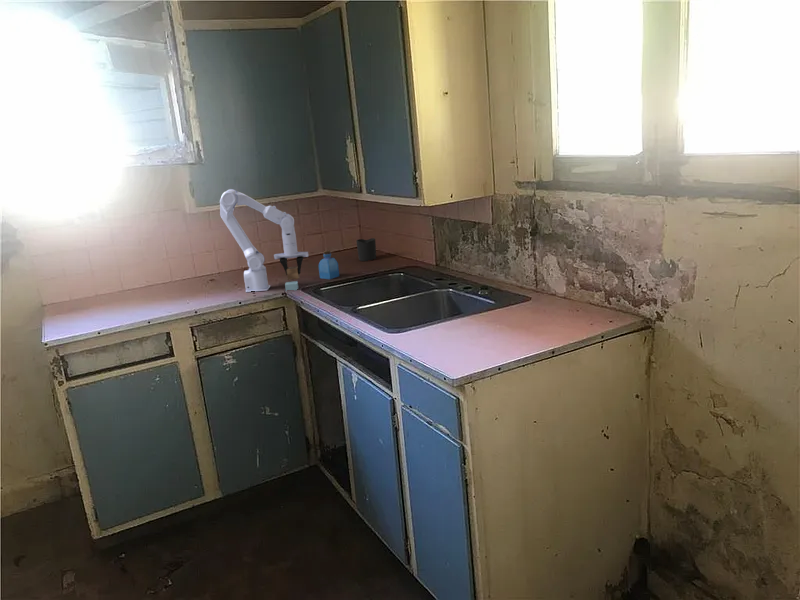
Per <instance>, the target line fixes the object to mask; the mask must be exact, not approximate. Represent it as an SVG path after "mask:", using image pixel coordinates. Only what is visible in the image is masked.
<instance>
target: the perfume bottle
mask: <svg viewBox="0 0 800 600" xmlns="http://www.w3.org/2000/svg"><path fill="white" fill-rule="evenodd" d="M322 255H323V258H321V259H320V261H319V263H318V273H319V278H320V279H323V280H324V279H325V280H333V279H335V278H337V277H340V270H339V262H338V261H337V259H335V257H331V256H332V253H331V250H323V254H322Z"/></svg>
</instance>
